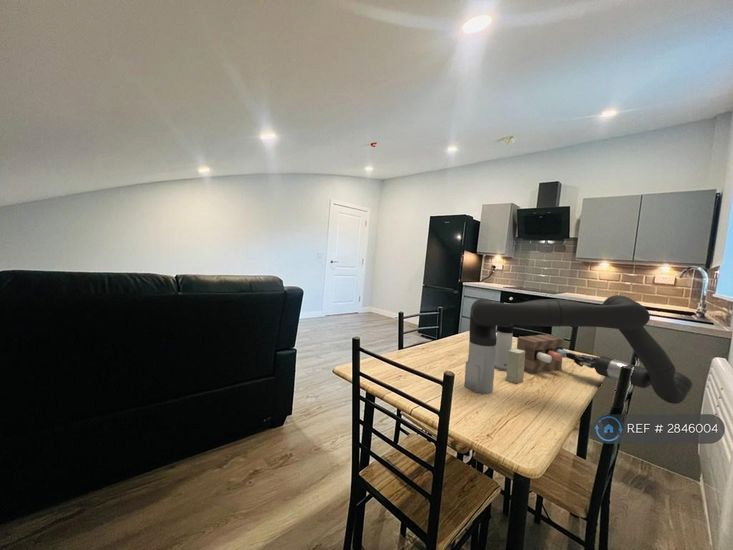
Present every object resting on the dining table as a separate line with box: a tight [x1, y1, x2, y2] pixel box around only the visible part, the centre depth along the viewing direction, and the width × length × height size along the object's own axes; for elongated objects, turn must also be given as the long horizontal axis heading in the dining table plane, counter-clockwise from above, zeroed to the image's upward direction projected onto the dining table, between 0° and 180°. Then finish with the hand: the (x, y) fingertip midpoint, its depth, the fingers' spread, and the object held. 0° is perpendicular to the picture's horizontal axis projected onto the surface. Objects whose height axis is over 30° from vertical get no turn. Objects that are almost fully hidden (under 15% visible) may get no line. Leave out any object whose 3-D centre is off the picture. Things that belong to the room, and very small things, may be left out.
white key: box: [537, 352, 552, 363], centre depth 122 cm, size 3×4×3 cm
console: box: [516, 333, 565, 375], centre depth 131 cm, size 20×8×14 cm, turn 114°
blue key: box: [556, 348, 568, 359], centre depth 130 cm, size 3×4×3 cm
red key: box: [547, 351, 563, 361], centre depth 125 cm, size 3×4×3 cm
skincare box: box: [505, 347, 525, 384], centre depth 116 cm, size 6×4×12 cm
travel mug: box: [494, 324, 515, 372], centre depth 128 cm, size 6×7×20 cm
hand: (567, 354), depth 127 cm, fingers closed
